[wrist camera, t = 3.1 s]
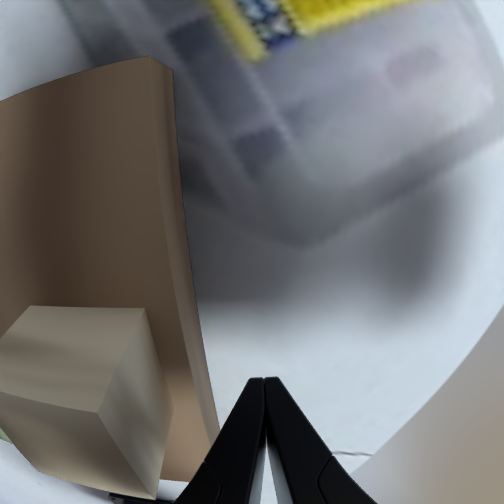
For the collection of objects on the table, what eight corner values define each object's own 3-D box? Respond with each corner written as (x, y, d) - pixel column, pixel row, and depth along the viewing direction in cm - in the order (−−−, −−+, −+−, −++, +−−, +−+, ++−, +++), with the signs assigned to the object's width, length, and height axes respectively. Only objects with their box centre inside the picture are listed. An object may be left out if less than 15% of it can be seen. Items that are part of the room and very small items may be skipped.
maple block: (174, 407, 11) (155, 499, 7) (72, 396, 11) (38, 471, 7) (144, 307, 9) (97, 412, 5) (30, 305, 9) (-34, 380, 5)
